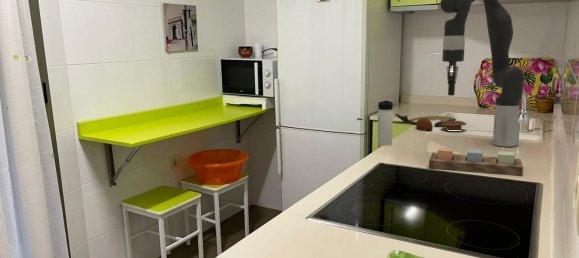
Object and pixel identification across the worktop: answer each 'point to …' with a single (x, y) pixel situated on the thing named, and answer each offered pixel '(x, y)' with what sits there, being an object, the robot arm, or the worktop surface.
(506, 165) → the button panel
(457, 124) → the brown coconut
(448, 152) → the terracotta button
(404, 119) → the tree branch
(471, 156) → the slate blue button
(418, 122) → the potato
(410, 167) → the worktop surface
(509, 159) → the sage green button
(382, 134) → the travel mug
